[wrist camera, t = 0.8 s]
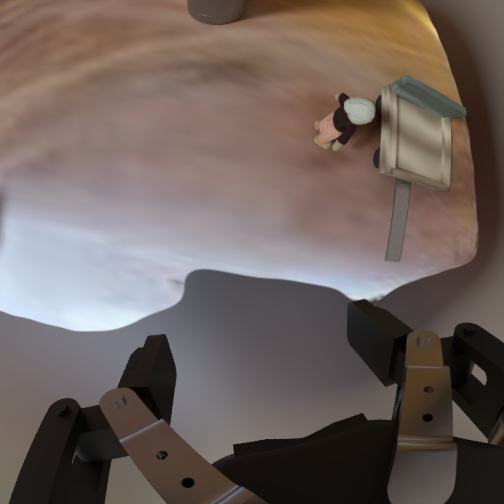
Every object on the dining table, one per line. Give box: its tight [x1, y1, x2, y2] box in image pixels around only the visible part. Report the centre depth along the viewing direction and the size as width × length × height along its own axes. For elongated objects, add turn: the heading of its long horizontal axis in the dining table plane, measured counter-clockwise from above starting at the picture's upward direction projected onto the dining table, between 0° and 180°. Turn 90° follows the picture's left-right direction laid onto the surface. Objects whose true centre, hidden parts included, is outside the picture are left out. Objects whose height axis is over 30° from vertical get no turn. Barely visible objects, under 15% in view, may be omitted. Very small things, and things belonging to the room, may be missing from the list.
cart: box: [373, 75, 466, 192], centre depth 33 cm, size 14×13×9 cm
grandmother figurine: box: [314, 93, 375, 151], centre depth 30 cm, size 8×4×13 cm, turn 6°
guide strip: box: [385, 178, 410, 262], centre depth 39 cm, size 26×3×1 cm, turn 174°
